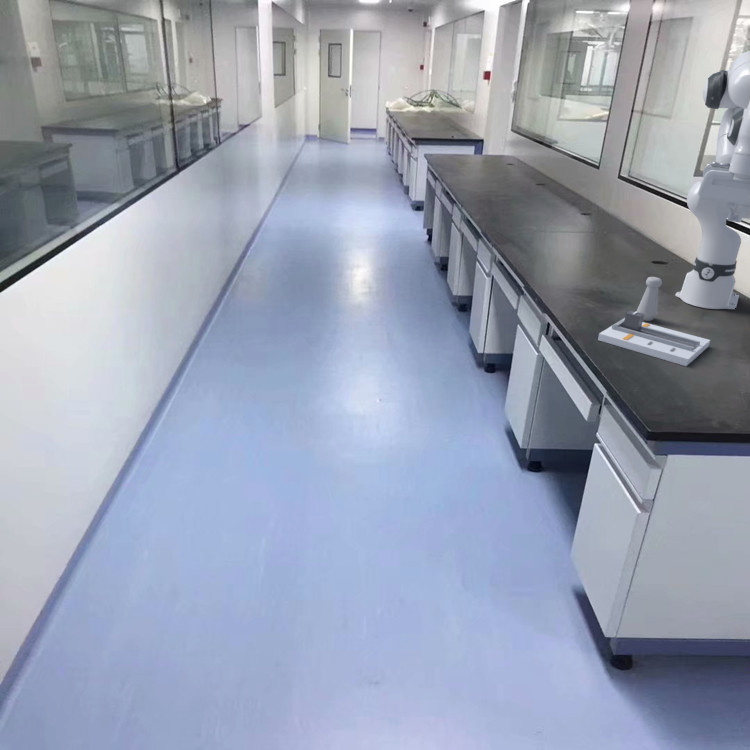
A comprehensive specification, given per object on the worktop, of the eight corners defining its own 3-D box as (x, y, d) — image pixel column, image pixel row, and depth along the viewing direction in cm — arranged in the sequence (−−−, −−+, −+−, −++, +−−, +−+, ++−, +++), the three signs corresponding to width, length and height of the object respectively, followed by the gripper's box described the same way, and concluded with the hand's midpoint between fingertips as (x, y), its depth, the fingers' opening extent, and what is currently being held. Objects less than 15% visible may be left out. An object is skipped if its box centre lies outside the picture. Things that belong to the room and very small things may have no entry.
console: (624, 323, 187) (626, 312, 185) (708, 346, 172) (711, 335, 171) (597, 340, 175) (600, 328, 173) (686, 366, 160) (689, 353, 159)
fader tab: (626, 326, 179) (630, 309, 176) (640, 330, 176) (644, 313, 174) (622, 329, 177) (626, 312, 174) (636, 333, 174) (640, 315, 172)
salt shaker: (650, 315, 194) (660, 275, 188) (659, 322, 188) (668, 281, 183) (632, 315, 193) (641, 274, 188) (640, 322, 188) (649, 280, 182)
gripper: (702, 162, 160) (688, 216, 166) (792, 172, 147) (774, 230, 154) (710, 160, 164) (696, 212, 170) (798, 169, 152) (780, 226, 158)
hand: (734, 221), depth 162 cm, fingers closed
